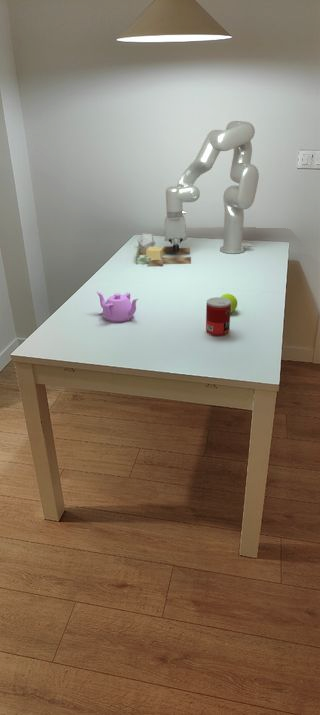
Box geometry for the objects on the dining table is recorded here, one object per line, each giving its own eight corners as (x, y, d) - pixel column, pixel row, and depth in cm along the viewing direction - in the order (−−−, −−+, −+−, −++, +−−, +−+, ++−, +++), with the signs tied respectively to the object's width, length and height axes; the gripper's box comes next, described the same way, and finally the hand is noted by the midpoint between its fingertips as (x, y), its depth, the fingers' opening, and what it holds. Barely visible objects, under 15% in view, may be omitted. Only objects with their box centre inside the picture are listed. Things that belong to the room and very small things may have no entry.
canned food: (228, 337, 170) (230, 306, 165) (204, 335, 172) (205, 305, 167) (230, 327, 177) (231, 297, 172) (206, 326, 178) (207, 296, 173)
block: (163, 256, 256) (163, 247, 254) (160, 260, 250) (160, 250, 248) (150, 255, 258) (149, 246, 256) (146, 259, 252) (146, 250, 250)
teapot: (139, 321, 183) (138, 298, 179) (100, 325, 181) (98, 301, 177) (134, 309, 194) (133, 287, 190) (97, 312, 192) (95, 290, 187)
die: (138, 248, 271) (132, 236, 263) (150, 238, 272) (146, 226, 264) (146, 256, 267) (141, 245, 259) (159, 247, 268) (155, 235, 260)
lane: (189, 251, 261) (189, 244, 259) (191, 265, 240) (191, 257, 239) (138, 252, 262) (138, 244, 260) (135, 266, 241) (135, 258, 239)
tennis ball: (232, 317, 185) (233, 299, 182) (214, 314, 188) (215, 296, 185) (239, 310, 191) (240, 292, 187) (222, 307, 194) (222, 290, 190)
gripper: (190, 211, 244) (191, 249, 253) (158, 213, 245) (161, 250, 254) (190, 215, 238) (192, 253, 246) (158, 217, 238) (160, 255, 247)
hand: (176, 252), depth 250 cm, fingers closed
